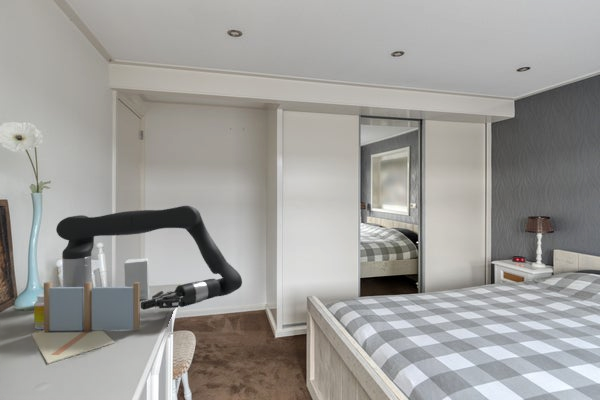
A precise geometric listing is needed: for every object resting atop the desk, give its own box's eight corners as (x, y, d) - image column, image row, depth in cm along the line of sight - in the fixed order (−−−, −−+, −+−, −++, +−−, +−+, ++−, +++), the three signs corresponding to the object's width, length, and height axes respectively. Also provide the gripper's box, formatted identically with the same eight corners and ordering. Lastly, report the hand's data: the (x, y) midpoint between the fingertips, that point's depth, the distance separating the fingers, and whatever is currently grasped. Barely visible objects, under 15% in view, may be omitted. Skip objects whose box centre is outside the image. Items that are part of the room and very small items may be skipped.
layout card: (31, 334, 93) (31, 333, 93) (90, 319, 104) (90, 318, 104) (47, 364, 78) (47, 362, 78) (114, 342, 89) (114, 341, 89)
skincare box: (149, 294, 130) (149, 257, 129) (148, 299, 124) (148, 261, 123) (127, 296, 127) (127, 258, 126) (124, 302, 121) (124, 262, 120)
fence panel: (91, 330, 95) (91, 283, 95) (94, 328, 96) (93, 282, 96) (138, 329, 96) (138, 283, 96) (139, 327, 97) (139, 282, 97)
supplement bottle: (47, 330, 96) (47, 297, 96) (29, 330, 96) (29, 297, 96) (61, 322, 102) (60, 291, 101) (43, 322, 102) (43, 291, 101)
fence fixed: (42, 333, 94) (41, 283, 93) (47, 330, 96) (47, 281, 95) (89, 333, 95) (89, 283, 94) (93, 330, 97) (93, 281, 96)
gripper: (182, 279, 116) (133, 289, 103) (201, 286, 107) (150, 299, 94) (182, 299, 116) (133, 312, 103) (201, 308, 107) (150, 323, 94)
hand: (141, 306), depth 99 cm, fingers closed
